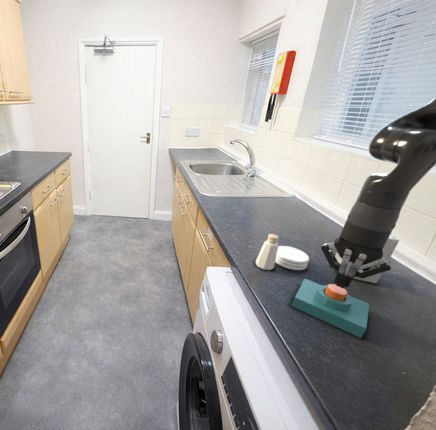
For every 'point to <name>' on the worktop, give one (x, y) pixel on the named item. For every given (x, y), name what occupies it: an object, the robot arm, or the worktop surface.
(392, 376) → the worktop surface
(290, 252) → the white round stack
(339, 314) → the button base
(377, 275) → the rectangular carton
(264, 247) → the pepper shaker
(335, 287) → the orange button cap
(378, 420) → the worktop surface
